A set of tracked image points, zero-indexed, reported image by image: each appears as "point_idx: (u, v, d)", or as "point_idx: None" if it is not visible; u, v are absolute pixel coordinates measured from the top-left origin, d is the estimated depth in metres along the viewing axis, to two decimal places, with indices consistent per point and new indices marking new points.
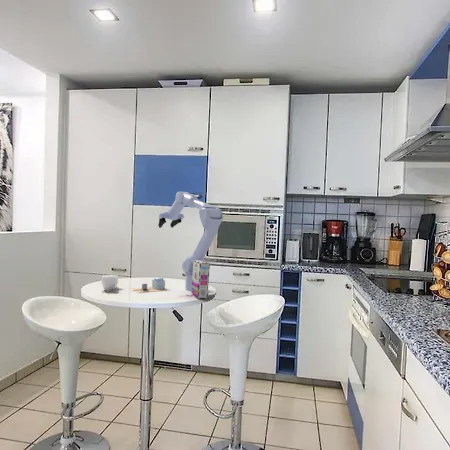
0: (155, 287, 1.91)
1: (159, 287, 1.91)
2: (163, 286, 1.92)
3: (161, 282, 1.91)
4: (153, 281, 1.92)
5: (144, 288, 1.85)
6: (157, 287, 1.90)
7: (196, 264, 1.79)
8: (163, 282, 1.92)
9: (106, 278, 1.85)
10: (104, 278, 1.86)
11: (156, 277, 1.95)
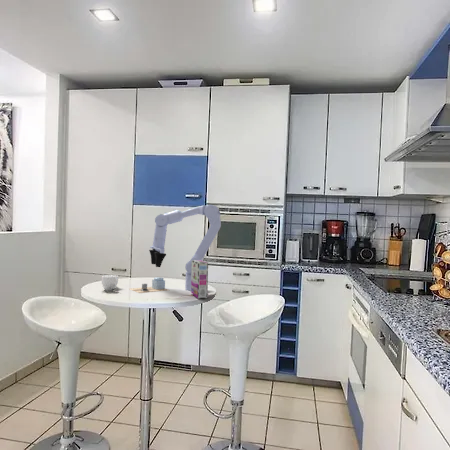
0: (155, 287, 1.91)
1: (159, 287, 1.91)
2: (163, 286, 1.92)
3: (161, 282, 1.91)
4: (153, 281, 1.92)
5: (144, 288, 1.85)
6: (157, 287, 1.90)
7: (195, 265, 1.79)
8: (163, 282, 1.92)
9: (106, 278, 1.85)
10: (104, 278, 1.86)
11: (156, 277, 1.95)
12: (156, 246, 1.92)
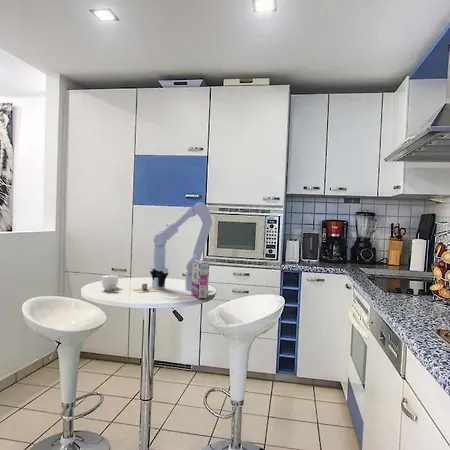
0: (155, 287, 1.91)
1: (159, 287, 1.91)
2: (163, 286, 1.92)
3: None
4: (153, 281, 1.92)
5: (144, 288, 1.85)
6: (157, 287, 1.90)
7: (196, 265, 1.80)
8: None
9: (106, 278, 1.85)
10: (104, 278, 1.86)
11: (156, 277, 1.95)
12: (158, 266, 1.90)
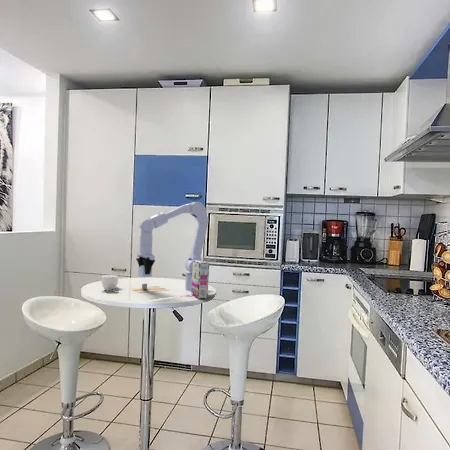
0: (141, 275, 1.84)
1: (146, 275, 1.84)
2: (150, 274, 1.85)
3: None
4: (139, 269, 1.86)
5: (144, 288, 1.85)
6: (143, 275, 1.83)
7: (196, 265, 1.80)
8: None
9: (106, 278, 1.85)
10: (104, 278, 1.86)
11: (143, 265, 1.88)
12: (144, 253, 1.83)
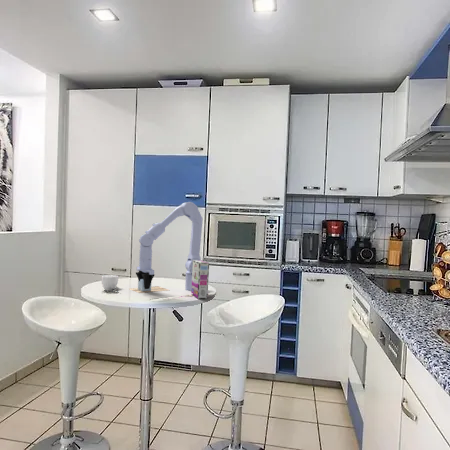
0: (141, 289, 1.84)
1: (145, 289, 1.84)
2: (149, 288, 1.85)
3: None
4: (139, 282, 1.86)
5: None
6: (143, 289, 1.83)
7: (196, 265, 1.80)
8: None
9: (106, 278, 1.85)
10: (104, 278, 1.86)
11: None
12: (144, 268, 1.83)
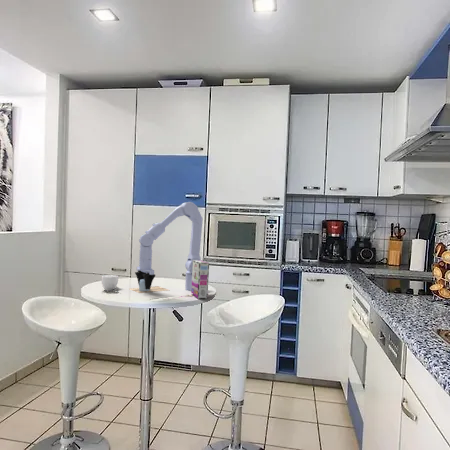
0: (146, 289, 1.84)
1: None
2: None
3: None
4: (142, 284, 1.84)
5: None
6: (149, 289, 1.85)
7: (196, 265, 1.80)
8: None
9: (106, 278, 1.85)
10: (104, 278, 1.86)
11: (140, 279, 1.86)
12: (144, 268, 1.83)
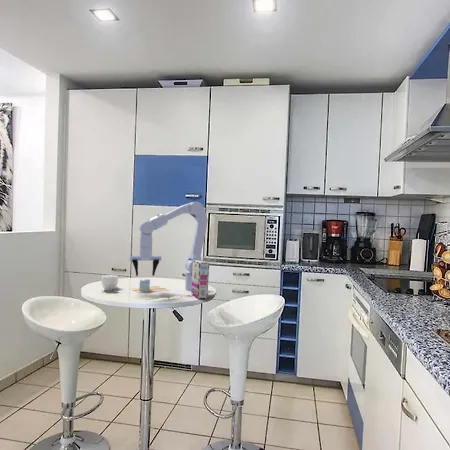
0: (147, 289, 1.84)
1: (149, 288, 1.86)
2: (149, 287, 1.88)
3: (149, 283, 1.87)
4: (142, 284, 1.84)
5: None
6: None
7: (196, 265, 1.80)
8: (149, 283, 1.88)
9: (106, 278, 1.85)
10: (104, 278, 1.86)
11: (140, 279, 1.86)
12: (151, 255, 1.85)
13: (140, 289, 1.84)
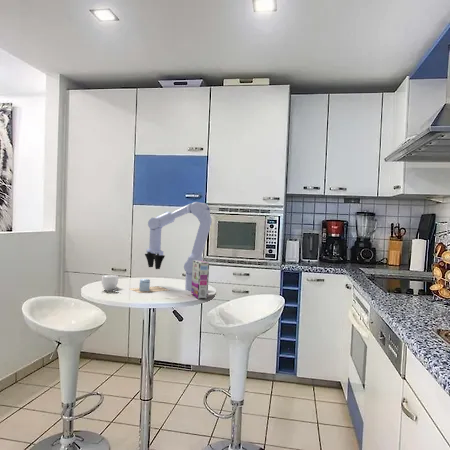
0: (147, 289, 1.84)
1: (149, 288, 1.86)
2: (149, 287, 1.88)
3: (149, 283, 1.87)
4: (142, 284, 1.84)
5: None
6: None
7: (196, 265, 1.80)
8: (149, 283, 1.88)
9: (106, 278, 1.85)
10: (104, 278, 1.86)
11: (140, 279, 1.86)
12: (153, 249, 1.97)
13: (140, 289, 1.84)
